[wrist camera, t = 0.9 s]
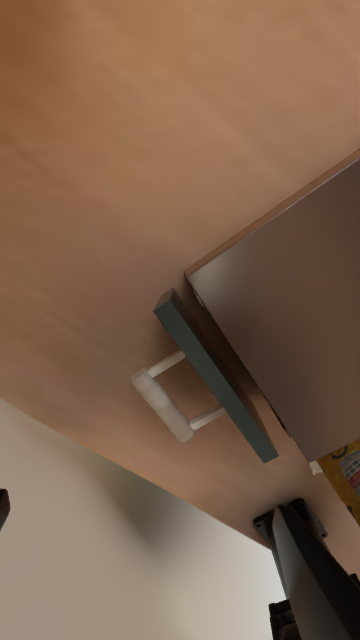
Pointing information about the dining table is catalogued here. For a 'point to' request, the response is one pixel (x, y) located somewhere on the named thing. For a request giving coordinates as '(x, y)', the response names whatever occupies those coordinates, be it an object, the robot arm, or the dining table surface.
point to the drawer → (210, 371)
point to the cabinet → (297, 307)
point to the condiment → (343, 474)
